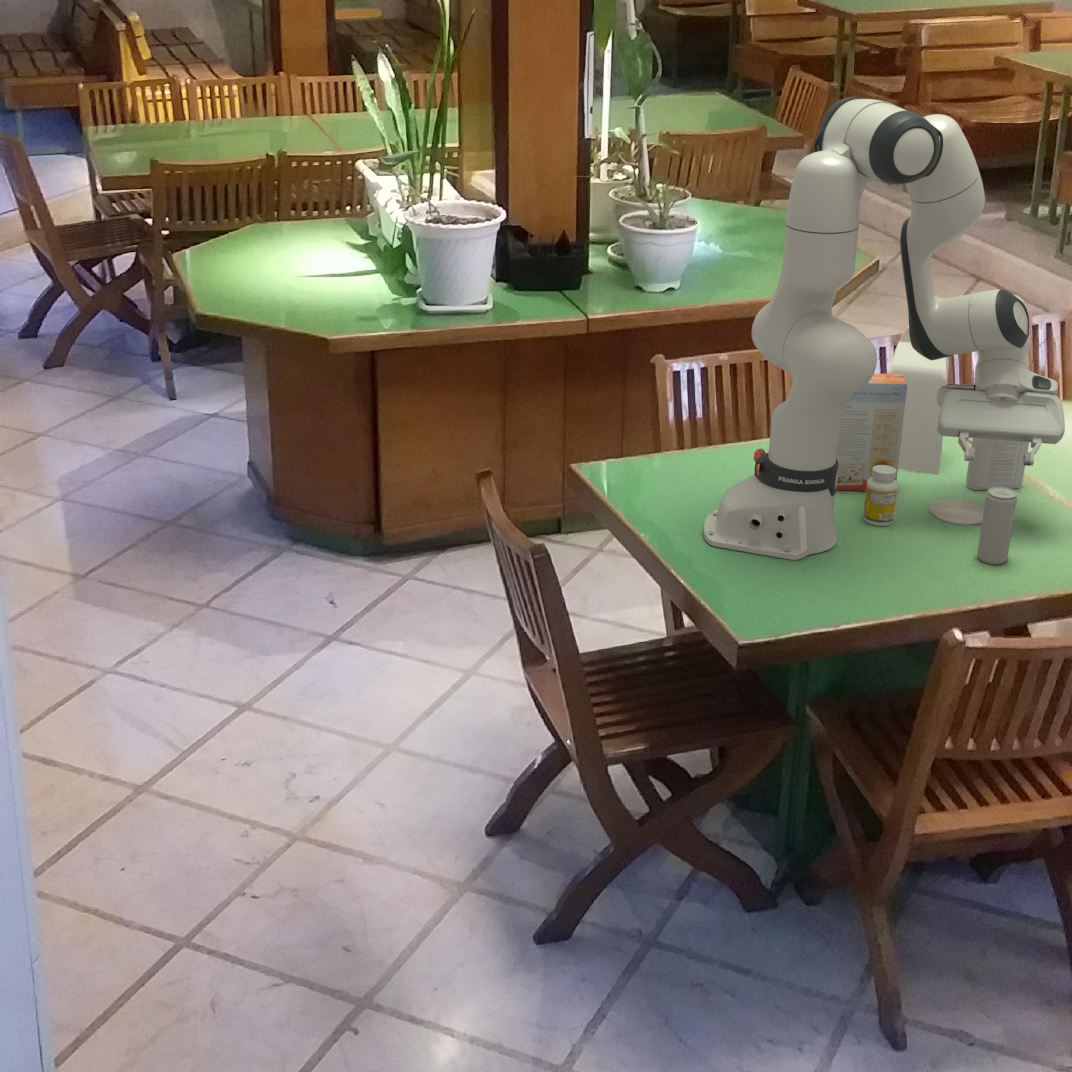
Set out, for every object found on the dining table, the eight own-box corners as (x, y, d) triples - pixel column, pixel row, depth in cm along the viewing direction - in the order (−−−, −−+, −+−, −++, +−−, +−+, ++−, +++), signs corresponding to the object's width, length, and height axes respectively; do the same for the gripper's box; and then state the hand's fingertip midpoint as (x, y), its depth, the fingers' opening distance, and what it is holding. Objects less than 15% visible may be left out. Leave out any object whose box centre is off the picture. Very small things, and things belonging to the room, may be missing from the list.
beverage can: (1008, 567, 236) (1019, 499, 231) (977, 564, 237) (987, 496, 232) (1005, 554, 240) (1016, 487, 235) (975, 551, 241) (985, 485, 236)
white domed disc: (931, 522, 252) (931, 519, 251) (928, 499, 261) (929, 496, 260) (991, 527, 250) (991, 524, 250) (986, 504, 259) (986, 501, 259)
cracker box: (891, 480, 269) (904, 372, 260) (895, 493, 263) (909, 383, 254) (814, 477, 270) (825, 369, 261) (817, 490, 264) (827, 380, 255)
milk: (872, 466, 275) (888, 333, 264) (878, 445, 285) (893, 316, 274) (938, 474, 272) (956, 340, 261) (941, 452, 282) (959, 322, 271)
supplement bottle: (888, 529, 249) (894, 477, 245) (858, 522, 252) (863, 471, 247) (898, 518, 253) (904, 467, 249) (868, 511, 256) (874, 461, 252)
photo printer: (1015, 480, 269) (1025, 417, 264) (1025, 489, 265) (1035, 425, 260) (961, 483, 268) (971, 419, 263) (971, 492, 264) (980, 428, 259)
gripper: (940, 374, 244) (936, 449, 240) (1067, 382, 241) (1066, 459, 236) (935, 390, 250) (931, 464, 245) (1059, 399, 247) (1058, 474, 242)
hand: (998, 462), depth 241 cm, fingers open, 8 cm apart
